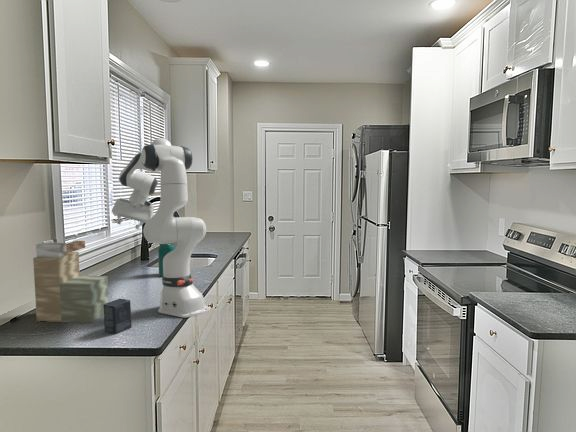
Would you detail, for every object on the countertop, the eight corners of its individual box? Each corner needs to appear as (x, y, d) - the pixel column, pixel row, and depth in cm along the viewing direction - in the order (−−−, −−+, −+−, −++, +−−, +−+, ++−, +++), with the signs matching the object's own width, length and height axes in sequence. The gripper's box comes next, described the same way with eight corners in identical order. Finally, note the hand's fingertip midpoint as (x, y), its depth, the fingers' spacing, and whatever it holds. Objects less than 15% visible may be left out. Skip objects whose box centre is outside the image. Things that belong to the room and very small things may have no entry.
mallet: (71, 247, 188) (70, 236, 187) (90, 247, 187) (90, 236, 186) (36, 257, 165) (36, 244, 164) (59, 257, 164) (58, 244, 164)
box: (120, 325, 161) (119, 298, 160) (131, 327, 159) (131, 299, 158) (104, 332, 154) (102, 303, 153) (115, 334, 152) (114, 305, 151)
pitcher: (162, 273, 247) (161, 235, 245) (177, 273, 247) (176, 236, 245) (157, 277, 238) (155, 238, 236) (172, 277, 237) (171, 238, 235)
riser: (58, 310, 180) (55, 251, 177) (108, 311, 178) (106, 252, 176) (36, 321, 166) (33, 258, 163) (91, 322, 164) (88, 258, 162)
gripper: (116, 194, 219) (106, 218, 213) (155, 205, 221) (146, 228, 215) (118, 200, 224) (108, 223, 218) (156, 210, 226) (147, 233, 220)
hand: (127, 226), depth 216 cm, fingers open, 8 cm apart
